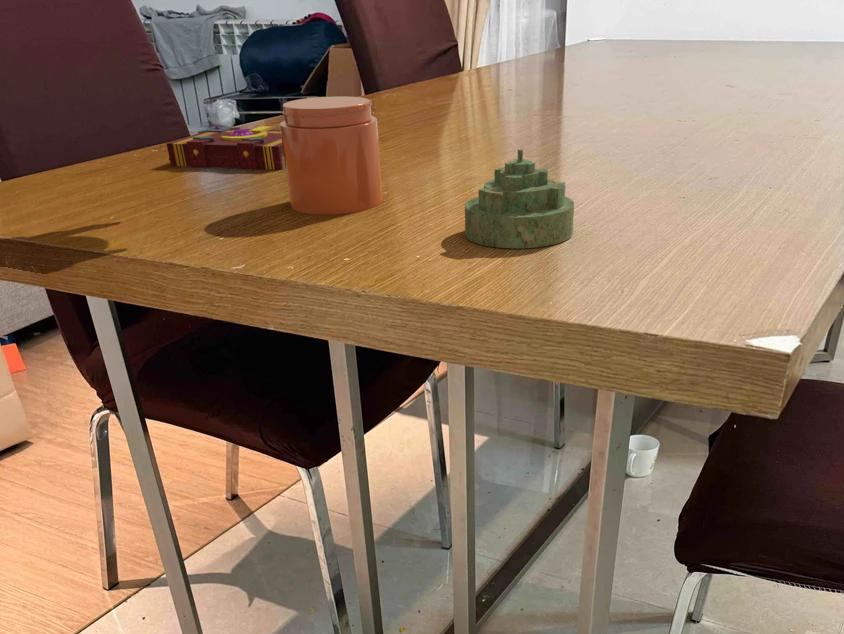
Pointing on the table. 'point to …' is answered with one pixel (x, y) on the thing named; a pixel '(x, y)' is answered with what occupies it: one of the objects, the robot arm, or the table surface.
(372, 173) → the jar
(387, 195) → the table surface
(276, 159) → the decorative book
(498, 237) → the decorative artifact
